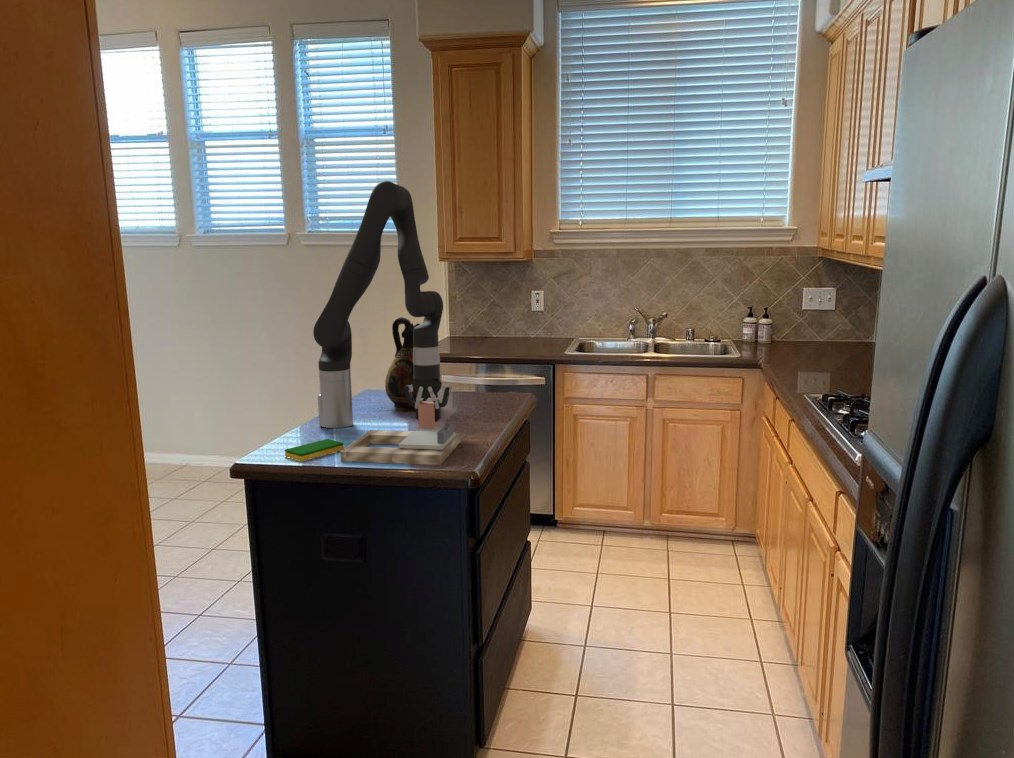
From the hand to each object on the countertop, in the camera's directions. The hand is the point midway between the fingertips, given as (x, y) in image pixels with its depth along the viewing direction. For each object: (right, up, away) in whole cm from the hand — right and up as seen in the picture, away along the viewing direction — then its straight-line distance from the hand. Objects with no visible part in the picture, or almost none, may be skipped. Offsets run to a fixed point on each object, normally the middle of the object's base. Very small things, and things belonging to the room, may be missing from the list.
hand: (428, 420), depth 215 cm
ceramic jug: (-11, +2, +34) cm, 36 cm away
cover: (+2, -4, -19) cm, 20 cm away
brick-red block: (0, -2, 0) cm, 2 cm away
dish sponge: (-28, -8, -19) cm, 34 cm away
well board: (-5, -7, -18) cm, 20 cm away
